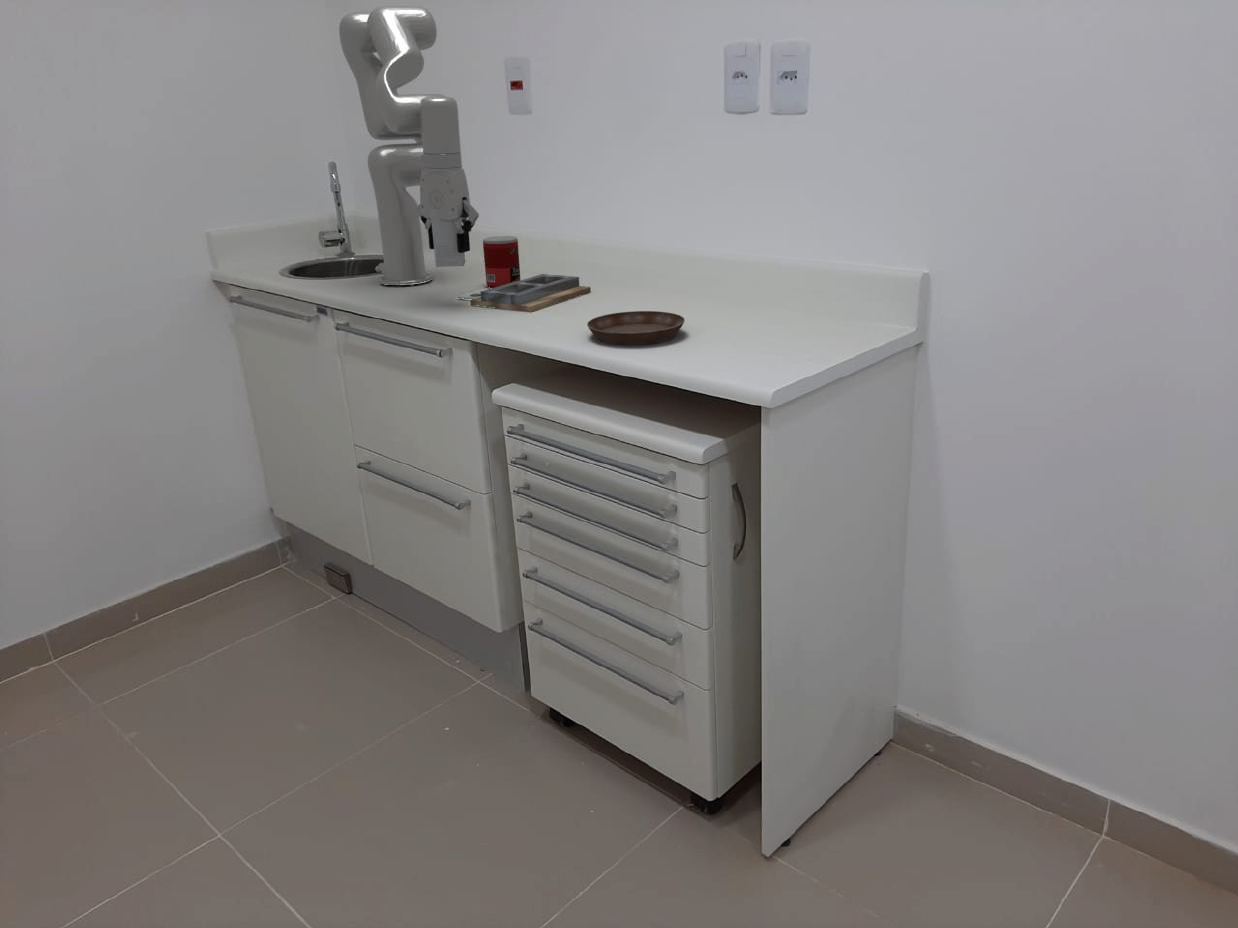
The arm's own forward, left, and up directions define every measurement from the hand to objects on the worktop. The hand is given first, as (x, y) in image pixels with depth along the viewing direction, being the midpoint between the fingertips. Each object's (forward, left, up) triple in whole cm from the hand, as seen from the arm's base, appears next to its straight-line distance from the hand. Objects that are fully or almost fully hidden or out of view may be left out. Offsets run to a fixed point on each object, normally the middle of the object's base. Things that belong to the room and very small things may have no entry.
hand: (449, 249), depth 203 cm
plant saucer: (+50, -8, -12) cm, 52 cm away
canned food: (-3, +20, -12) cm, 24 cm away
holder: (+12, +11, -12) cm, 20 cm away
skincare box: (0, 0, -3) cm, 3 cm away
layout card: (0, +9, -12) cm, 15 cm away
